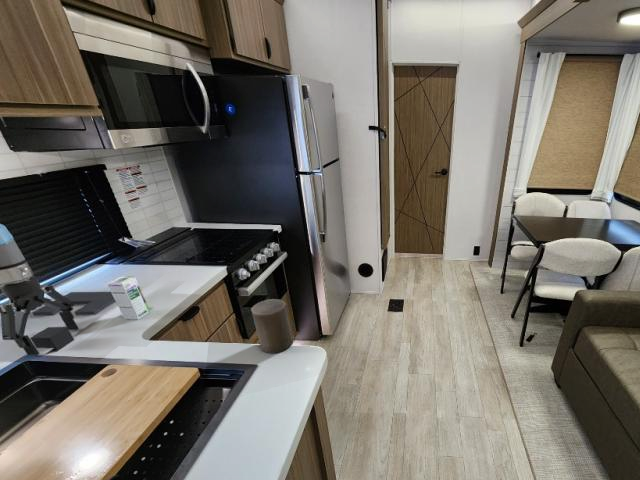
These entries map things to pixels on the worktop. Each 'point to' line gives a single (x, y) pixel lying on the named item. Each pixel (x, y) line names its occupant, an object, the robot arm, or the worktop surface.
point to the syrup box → (129, 297)
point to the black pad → (53, 338)
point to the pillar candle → (272, 325)
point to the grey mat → (92, 299)
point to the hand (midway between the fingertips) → (54, 341)
